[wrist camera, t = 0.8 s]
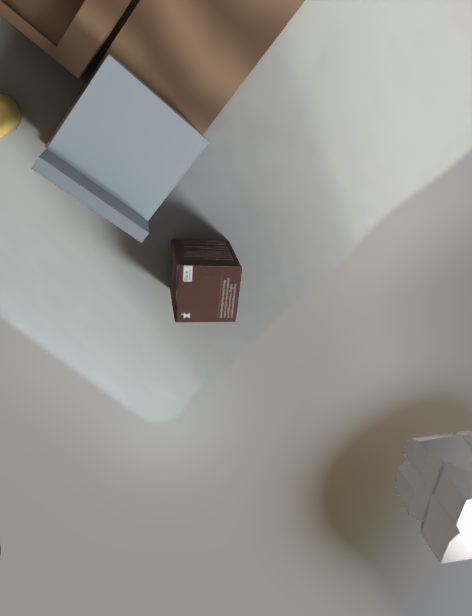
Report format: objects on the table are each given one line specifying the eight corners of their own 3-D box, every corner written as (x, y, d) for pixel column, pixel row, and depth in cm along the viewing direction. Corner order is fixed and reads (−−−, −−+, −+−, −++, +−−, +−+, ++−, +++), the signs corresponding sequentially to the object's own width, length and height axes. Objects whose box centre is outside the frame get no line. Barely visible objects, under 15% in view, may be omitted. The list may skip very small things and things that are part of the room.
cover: (112, 55, 35) (106, 53, 28) (199, 131, 40) (214, 148, 32) (52, 146, 38) (31, 168, 30) (140, 209, 42) (141, 243, 34)
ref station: (219, -121, 33) (234, -154, 28) (309, -9, 37) (336, -20, 32) (46, 144, 39) (33, 157, 34) (141, 212, 43) (142, 232, 38)
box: (223, 290, 49) (236, 323, 43) (168, 289, 48) (173, 324, 42) (229, 238, 46) (243, 266, 40) (171, 236, 45) (177, 264, 39)
